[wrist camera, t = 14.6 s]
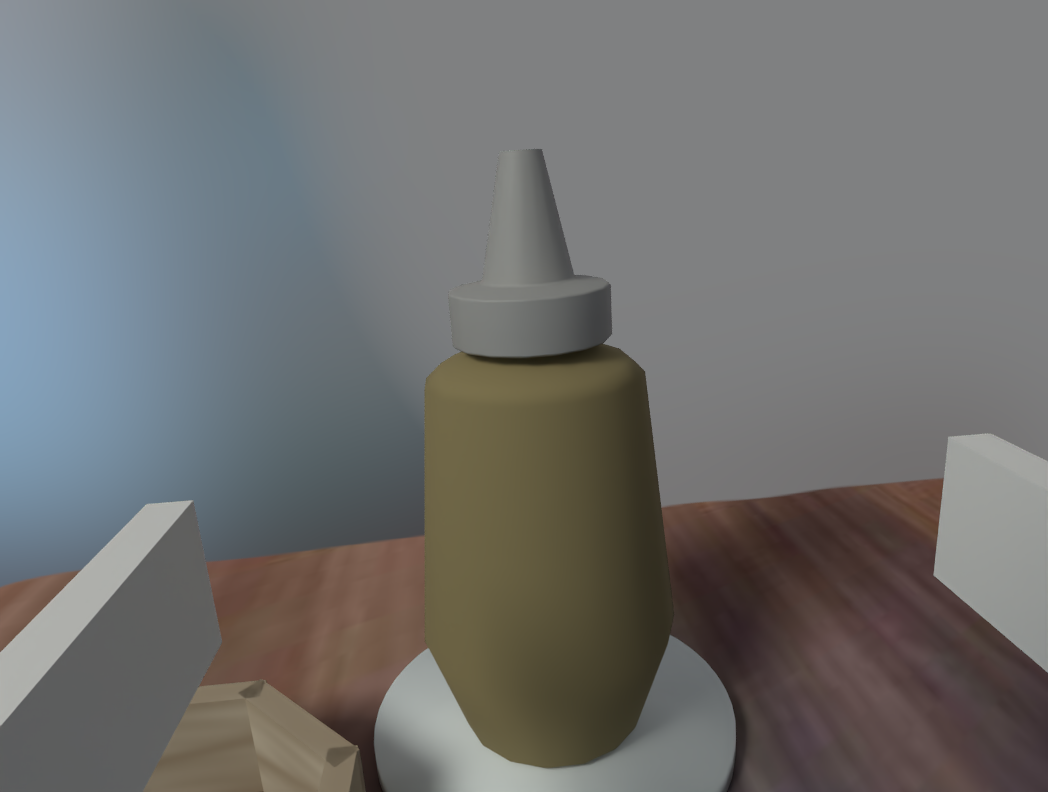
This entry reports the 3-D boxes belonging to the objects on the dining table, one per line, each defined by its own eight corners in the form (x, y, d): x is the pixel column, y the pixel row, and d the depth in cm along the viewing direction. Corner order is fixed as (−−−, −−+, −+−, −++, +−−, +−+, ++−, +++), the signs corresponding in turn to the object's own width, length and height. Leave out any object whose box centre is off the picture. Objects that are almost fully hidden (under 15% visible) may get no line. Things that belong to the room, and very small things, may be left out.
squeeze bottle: (407, 798, 22) (322, 158, 17) (459, 635, 30) (412, 161, 25) (687, 809, 21) (687, 133, 16) (665, 637, 29) (661, 145, 24)
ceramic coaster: (677, 611, 32) (677, 595, 31) (799, 859, 20) (801, 835, 20) (393, 640, 31) (391, 623, 31) (352, 912, 19) (348, 888, 19)
